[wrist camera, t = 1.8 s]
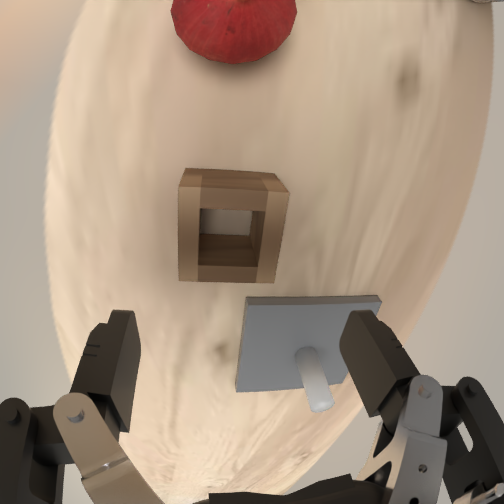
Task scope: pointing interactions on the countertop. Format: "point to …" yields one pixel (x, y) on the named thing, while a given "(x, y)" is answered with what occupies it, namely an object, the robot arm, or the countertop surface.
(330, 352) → the post stand
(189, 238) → the ring
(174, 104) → the countertop surface
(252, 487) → the countertop surface
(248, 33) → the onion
